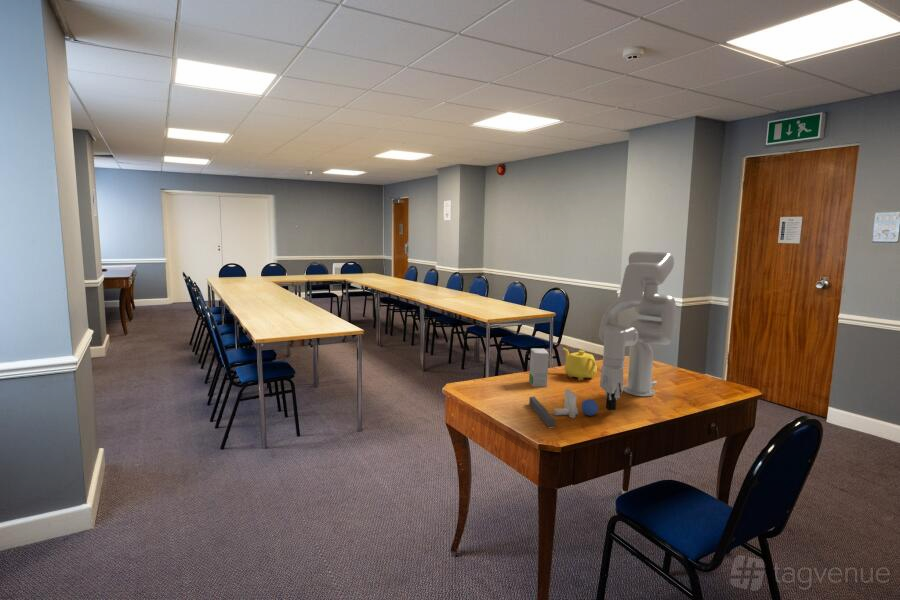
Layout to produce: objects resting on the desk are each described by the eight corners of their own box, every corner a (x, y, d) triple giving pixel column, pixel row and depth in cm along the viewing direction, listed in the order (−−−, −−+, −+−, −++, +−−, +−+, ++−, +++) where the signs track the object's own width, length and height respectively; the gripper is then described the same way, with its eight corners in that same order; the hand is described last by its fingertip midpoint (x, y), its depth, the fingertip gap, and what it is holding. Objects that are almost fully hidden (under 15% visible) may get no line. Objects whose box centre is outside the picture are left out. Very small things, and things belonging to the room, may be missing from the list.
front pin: (575, 408, 185) (553, 409, 184) (577, 407, 182) (555, 408, 181) (576, 414, 184) (554, 415, 183) (578, 414, 182) (556, 415, 181)
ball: (578, 397, 184) (583, 408, 187) (579, 409, 180) (584, 420, 182) (594, 394, 182) (599, 405, 185) (595, 405, 177) (600, 417, 180)
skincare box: (528, 381, 223) (530, 348, 221) (543, 381, 224) (544, 348, 222) (533, 387, 215) (534, 352, 213) (548, 387, 216) (549, 352, 214)
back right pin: (567, 410, 187) (568, 388, 186) (571, 412, 185) (572, 390, 184) (562, 411, 186) (563, 389, 185) (567, 413, 184) (568, 391, 183)
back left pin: (572, 415, 182) (573, 393, 181) (576, 417, 180) (577, 394, 179) (567, 416, 181) (568, 394, 180) (572, 418, 179) (573, 395, 178)
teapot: (584, 384, 221) (585, 356, 219) (552, 373, 237) (553, 347, 236) (604, 379, 228) (606, 352, 226) (572, 369, 245) (573, 344, 243)
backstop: (534, 404, 194) (534, 396, 193) (554, 427, 170) (554, 419, 170) (529, 404, 193) (529, 396, 193) (548, 428, 170) (549, 419, 169)
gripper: (595, 356, 189) (593, 402, 192) (612, 367, 175) (610, 416, 177) (614, 356, 190) (611, 402, 193) (632, 366, 176) (629, 416, 178)
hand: (610, 409), depth 185 cm, fingers closed
